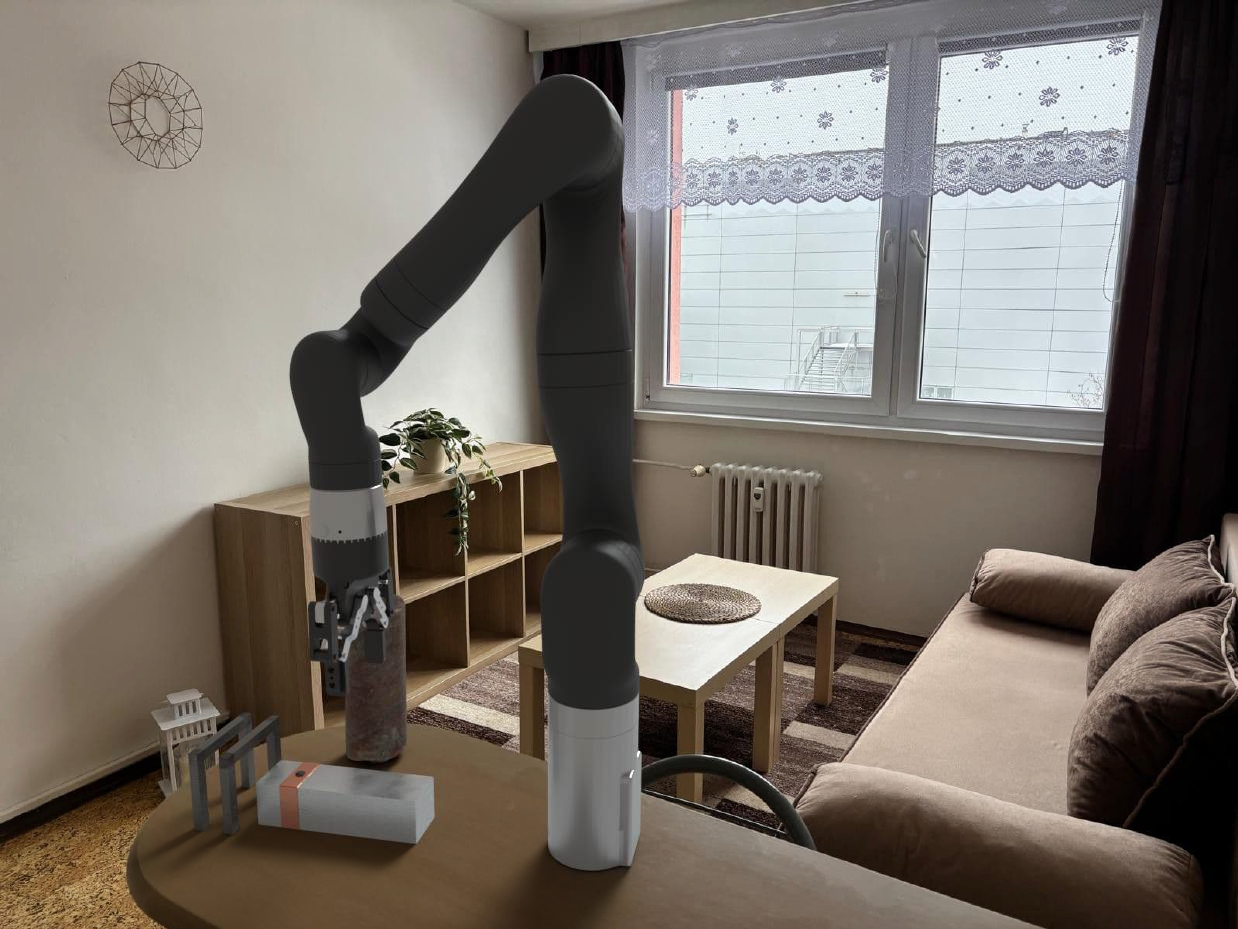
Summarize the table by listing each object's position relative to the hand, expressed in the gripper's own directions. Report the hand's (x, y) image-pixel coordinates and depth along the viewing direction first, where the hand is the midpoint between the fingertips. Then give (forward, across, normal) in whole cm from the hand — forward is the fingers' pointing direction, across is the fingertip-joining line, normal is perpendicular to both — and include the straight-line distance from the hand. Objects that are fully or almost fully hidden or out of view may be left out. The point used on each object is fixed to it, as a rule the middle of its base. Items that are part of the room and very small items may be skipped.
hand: (357, 677), depth 96 cm
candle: (+17, +14, +5) cm, 22 cm away
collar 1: (+16, 0, +17) cm, 23 cm away
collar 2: (+16, 0, +13) cm, 21 cm away
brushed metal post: (+17, 0, +2) cm, 17 cm away
